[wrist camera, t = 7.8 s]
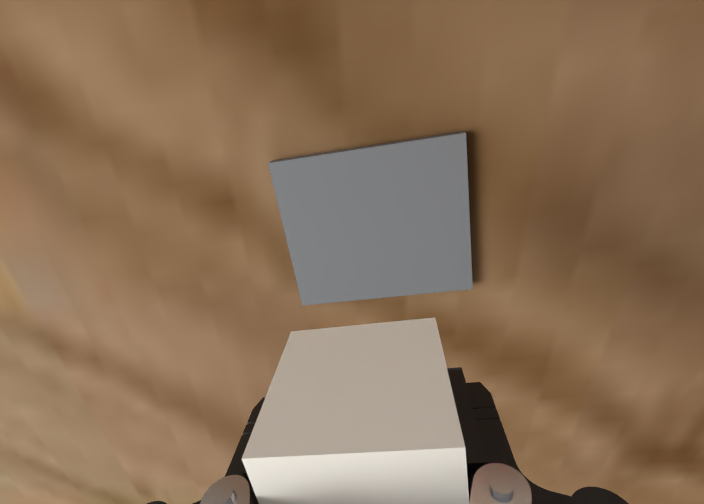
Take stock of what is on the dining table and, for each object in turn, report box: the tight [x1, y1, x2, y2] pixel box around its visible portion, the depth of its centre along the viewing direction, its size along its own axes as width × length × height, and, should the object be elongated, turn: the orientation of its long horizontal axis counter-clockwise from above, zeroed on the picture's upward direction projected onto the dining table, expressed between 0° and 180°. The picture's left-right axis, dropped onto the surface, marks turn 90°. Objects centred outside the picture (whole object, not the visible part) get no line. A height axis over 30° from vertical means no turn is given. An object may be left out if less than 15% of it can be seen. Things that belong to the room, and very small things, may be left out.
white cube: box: [242, 318, 469, 504], centre depth 11 cm, size 5×5×5 cm
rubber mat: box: [268, 131, 473, 305], centre depth 29 cm, size 14×12×1 cm
